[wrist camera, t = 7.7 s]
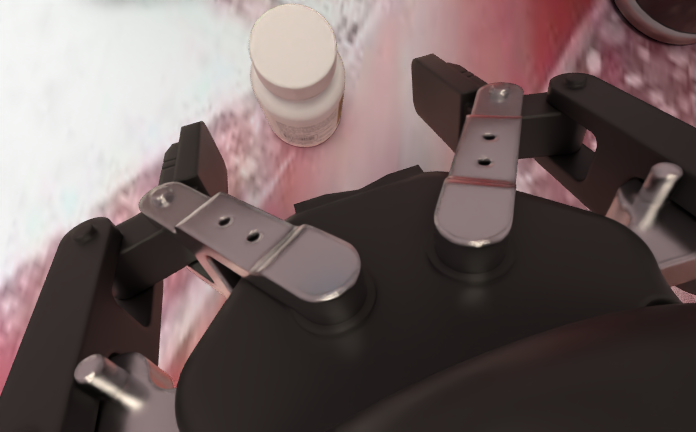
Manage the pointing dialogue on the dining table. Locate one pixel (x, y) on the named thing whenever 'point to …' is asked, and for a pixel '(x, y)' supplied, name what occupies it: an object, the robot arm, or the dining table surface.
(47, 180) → the dining table surface
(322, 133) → the pill bottle
